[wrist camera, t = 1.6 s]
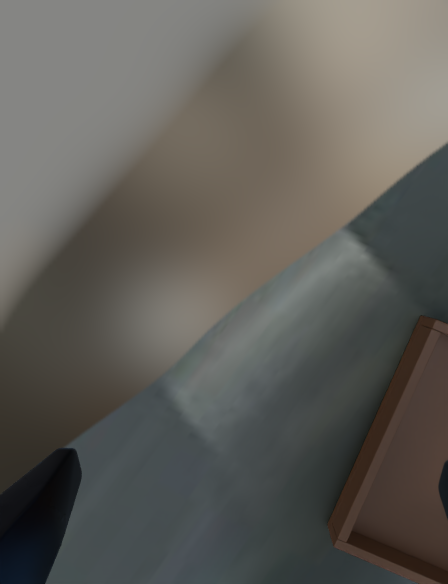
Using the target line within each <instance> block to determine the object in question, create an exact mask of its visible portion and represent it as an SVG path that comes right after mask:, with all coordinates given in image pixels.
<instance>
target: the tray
mask: <svg viewBox="0 0 448 584" xmlns="http://www.w3.org/2000/svg"><path fill="white" fill-rule="evenodd" d="M447 460H448V324H447V323H444V322H442V321H439V320H437V319H433V318H430V317H426V316H422V315H421V316H420V318H419V320H418V322H417V325H416V327H415V329H414V331H413V334H412V336H411V338H410V340H409V343H408V345H407V347H406V349H405V351H404V354H403V356H402V358H401V360H400V363H399V365H398V367H397V369H396V372H395V374H394V376H393V378H392V381H391V383H390V385H389V387H388V390H387V392H386V394H385V396H384V399H383V401H382V403H381V405H380V408H379V410H378V412H377V414H376V417H375V419H374V421H373V423H372V425H371V428H370V430H369V432H368V434H367V437H366V439H365V441H364V443H363V446H362V448H361V450H360V452H359V455H358V457H357V459H356V461H355V464H354V466H353V468H352V470H351V473H350V475H349V477H348V479H347V482H346V484H345V486H344V488H343V491H342V493H341V495H340V497H339V499H338V502H337V504H336V506H335V508H334V511H333V513H332V515H331V517H330V520H329V522H328V524H327V526H328V529H329V532H330V536H331V539H332V543H333V546H334V547H335V548H337V549H339V550H342V551H344V552H346V553H349V554H351V555H353V556H356V557H358V558H360V559H363V560H365V561H367V562H370V563H372V564H374V565H377V566H379V567H381V568H384V569H386V570H388V571H391V572H393V573H395V574H398V575H400V576H402V577H405V578H407V579H409V580H412V581H414V582H416V583H419V584H448V520H447V516H446V513H445V510H444V507H443V504H442V501H441V498H440V495H439V490H438V484H439V480H440V476H441V473H442V469H443V465H444V463H445V461H447Z"/></svg>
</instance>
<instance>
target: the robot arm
mask: <svg viewBox="0 0 448 584" xmlns="http://www.w3.org/2000/svg"><path fill="white" fill-rule="evenodd" d="M81 478H82V471H81V467H80V463H79V459H78V455H77V452H76V450H75V449H73V448H59V449H57V450H55V451H54V452H53V453H52V454H50V455H49V456H48V457H47V458H45V459H44V460H43V461H42V462H40V463H39V464H38V465H37V466H35V467H34V468H33V469H32V470H30V471H29V472H28V473H27V474H25V475H24V476H23V477H22V478H20V479H19V480H18V481H17V482H15V483H14V484H13V485H12V486H10V487H9V488H8V489H7V490H5V491H4V492H3V493H2V494H0V584H45V583H46V580H47V578H48V576H49V573H50V571H51V568H52V566H53V564H54V561H55V559H56V556H57V554H58V551H59V549H60V546H61V543H62V540H63V537H64V534H65V531H66V528H67V525H68V521H69V518H70V515H71V512H72V508H73V505H74V502H75V499H76V495H77V492H78V489H79V486H80V482H81ZM438 490H439V495H440V498H441V501H442V504H443V507H444V510H445V513H446V516H447V520H448V460H447V461H445V463H444V465H443V469H442V473H441V476H440V480H439V484H438Z"/></svg>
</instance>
